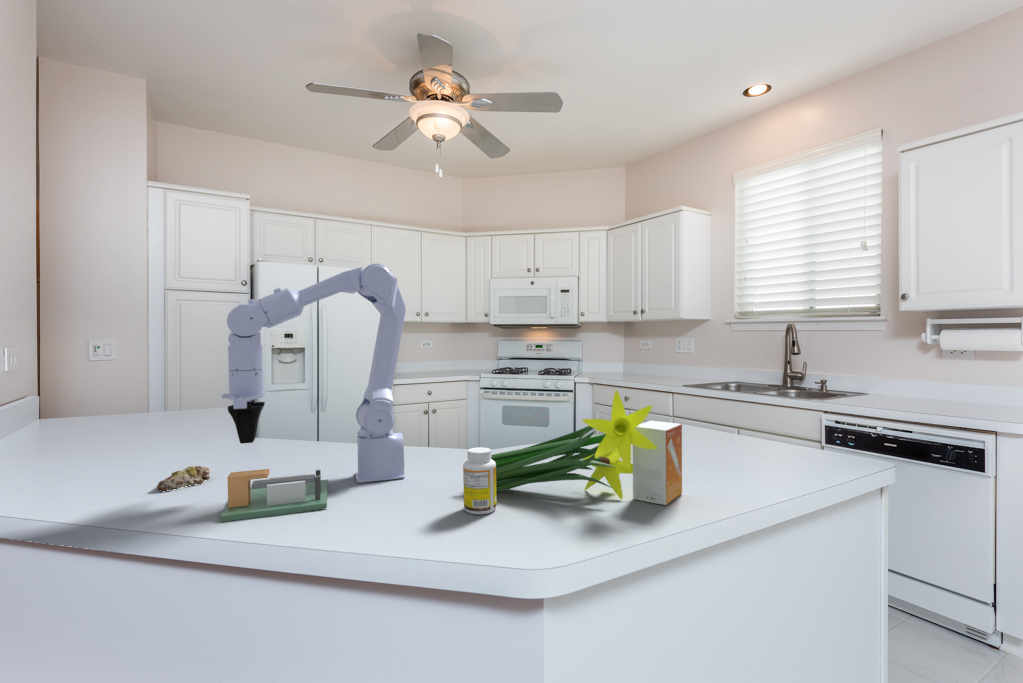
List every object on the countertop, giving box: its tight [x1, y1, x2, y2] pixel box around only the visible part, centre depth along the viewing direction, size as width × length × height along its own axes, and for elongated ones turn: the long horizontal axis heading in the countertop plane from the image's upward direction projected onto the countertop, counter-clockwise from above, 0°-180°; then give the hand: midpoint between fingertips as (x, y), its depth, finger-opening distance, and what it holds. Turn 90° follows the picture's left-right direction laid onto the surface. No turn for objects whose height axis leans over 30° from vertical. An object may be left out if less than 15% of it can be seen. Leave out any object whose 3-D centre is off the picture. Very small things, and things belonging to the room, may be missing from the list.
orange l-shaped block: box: [227, 468, 270, 508], centre depth 86 cm, size 6×3×5 cm, turn 110°
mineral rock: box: [156, 465, 210, 492], centre depth 101 cm, size 11×4×8 cm
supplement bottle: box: [462, 446, 498, 516], centre depth 84 cm, size 6×6×10 cm
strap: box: [251, 473, 320, 489], centre depth 88 cm, size 11×3×1 cm, turn 110°
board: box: [219, 469, 329, 523], centre depth 90 cm, size 16×15×5 cm
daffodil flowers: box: [491, 390, 657, 500], centre depth 91 cm, size 17×15×35 cm
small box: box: [632, 420, 683, 506], centre depth 90 cm, size 8×6×13 cm
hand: (247, 442), depth 94 cm, fingers closed
